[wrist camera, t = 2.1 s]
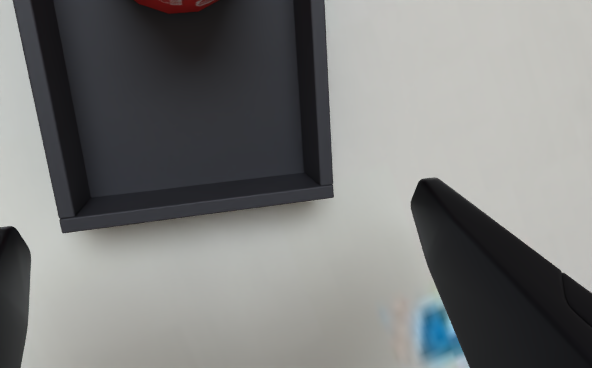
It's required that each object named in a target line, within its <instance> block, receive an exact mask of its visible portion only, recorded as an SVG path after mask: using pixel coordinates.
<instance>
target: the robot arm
mask: <svg viewBox="0 0 592 368" xmlns="http://www.w3.org/2000/svg"><path fill="white" fill-rule="evenodd" d="M411 210H412V214H413V218H414V221H415V225H416V228H417V232H418V235H419V239H420V242H421V246H422V249H423V253H424V256H425V259H426V262H427V265H428V268H429V270H430V273H431V275H432V278H433V280H434V282H435V285H436V287H437V290H438V292H439V295H440V297H441V299H442V302H443V304H444V307H445V309H446V311H447V314H448V316H449V319H450V321H451V323H452V326H453V328H454V331H455V333H456V336H457V338H458V340H459V343H460V345H461V348H462V350H463V352H464V355H465V357H466V360H467V362H468V364H469V367H470V368H592V293H591V292H589V291H588V290H587V289H585V288H584V287H582V286H581V285H580V284H578V283H577V282H576V281H574V280H573V279H572V278H570V277H569V276H568V275H566V274H565V273H561V270H560V269H558V268H557V267H556V266H554V265H553V264H552V263H550V262H549V261H548V260H546V259H545V258H544V257H542V256H541V255H540V254H538V253H537V252H536V251H534V250H533V249H532V248H530V247H529V246H528V245H526V244H525V243H524V242H522V241H521V240H520V239H518V238H517V237H516V236H514V235H513V234H512V233H510V232H509V231H508V230H506V229H505V228H504V227H502V226H501V225H500V224H498V223H497V222H496V221H494V220H493V219H492V218H490V217H489V216H488V215H486V214H485V213H484V212H482V211H481V210H480V209H478V208H477V207H476V206H474V205H473V204H472V203H470V202H469V201H468V200H466V199H465V198H464V197H462V196H461V195H460V194H458V193H457V192H456V191H454V190H453V189H452V188H450V187H449V186H448V185H446V184H445V183H444V182H442V181H441V180H440V179H438V178H426V179H421V180H420V181H419V182H418V185H417V187H416V190H415V192H414V195H413V197H412V200H411ZM30 270H31V254H30V250H29V248H28V246H27V245H26V243H25V241H24V240H23V238H22V237H21V235H20V234H19V232H18V231H17V229H16V228H14V227H12V226H8V227H0V368H21V362H22V356H23V351H24V345H25V340H26V333H27V326H28V313H29V292H30Z"/></svg>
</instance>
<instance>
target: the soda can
mask: <svg viewBox="0 0 592 368" xmlns="http://www.w3.org/2000/svg"><path fill="white" fill-rule="evenodd" d="M134 1H136V2H137V3H138V4H140V5H144V6H147V7H150V8H153V9H156V10H159V11H162V12H165V13H168V14H173V13H185V12H198V11H200V10H202V9H204V8H206V7H208V6H209V5H211V4H213V3H215V2H217V1H219V0H134Z"/></svg>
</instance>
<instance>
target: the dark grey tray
mask: <svg viewBox="0 0 592 368" xmlns="http://www.w3.org/2000/svg"><path fill="white" fill-rule="evenodd" d="M13 4H14V8H15V13H16V18H17V23H18V27H19V32H20V37H21V41H22V46H23V51H24V55H25V60H26V65H27V70H28V74H29V79H30V84H31V88H32V93H33V98H34V103H35V107H36V112H37V117H38V121H39V126H40V131H41V135H42V140H43V145H44V150H45V154H46V159H47V164H48V168H49V173H50V178H51V183H52V187H53V192H54V197H55V201H56V206H57V211H58V215H59V218H60V225H61V230H62V233H69V232H76V231H84V230H91V229H99V228H107V227H114V226H122V225H129V224H137V223H144V222H152V221H160V220H167V219H175V218H182V217H190V216H197V215H205V214H213V213H220V212H228V211H235V210H243V209H251V208H258V207H266V206H273V205H281V204H288V203H296V202H304V201H311V200H319V199H326V198H333V197H334V193H333V185H332V184H333V173H332V152H331V131H330V109H329V88H328V67H327V46H326V25H325V4H324V0H219V1H217V2H215V3H213V4H211V5H209V6H208V7H206V8H204V9H202V10H200V11H198V12H185V13H173V14H168V13H165V12H162V11H159V10H156V9H153V8H150V7H147V6H144V5H140V4H138V3H137V2H136V1H134V0H13Z"/></svg>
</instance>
